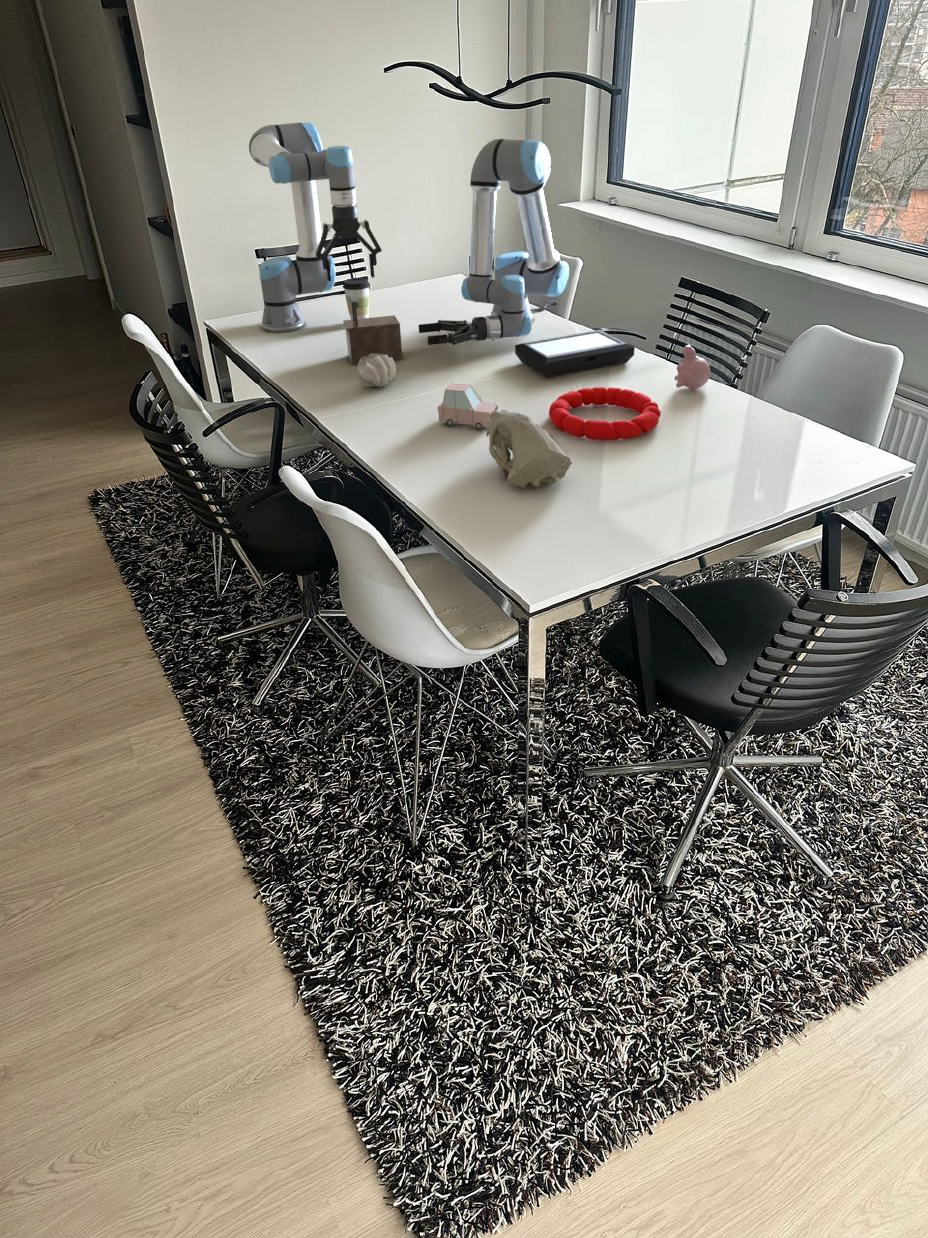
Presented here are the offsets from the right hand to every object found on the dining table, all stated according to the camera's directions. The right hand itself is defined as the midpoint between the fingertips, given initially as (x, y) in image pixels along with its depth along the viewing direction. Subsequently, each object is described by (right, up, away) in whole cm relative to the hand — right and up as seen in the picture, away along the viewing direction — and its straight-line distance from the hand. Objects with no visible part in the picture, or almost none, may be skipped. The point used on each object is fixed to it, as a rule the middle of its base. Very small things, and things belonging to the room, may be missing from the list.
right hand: (423, 334), depth 293 cm
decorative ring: (+52, -40, -49) cm, 82 cm away
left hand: (-22, +13, -14) cm, 29 cm away
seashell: (-13, -23, -21) cm, 33 cm away
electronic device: (+48, -12, -9) cm, 51 cm away
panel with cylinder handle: (-16, +2, -5) cm, 17 cm away
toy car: (+15, -40, -47) cm, 63 cm away
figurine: (+80, -26, -30) cm, 90 cm away
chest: (-16, -7, +1) cm, 18 cm away
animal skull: (+27, -57, -73) cm, 96 cm away
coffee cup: (-25, +15, +34) cm, 45 cm away
